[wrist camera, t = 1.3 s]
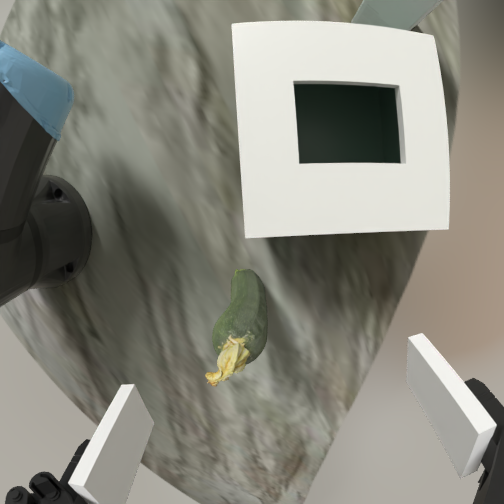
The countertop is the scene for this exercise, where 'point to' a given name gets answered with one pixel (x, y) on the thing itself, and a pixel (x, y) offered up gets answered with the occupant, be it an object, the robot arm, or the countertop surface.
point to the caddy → (339, 129)
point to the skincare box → (394, 13)
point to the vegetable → (240, 326)
